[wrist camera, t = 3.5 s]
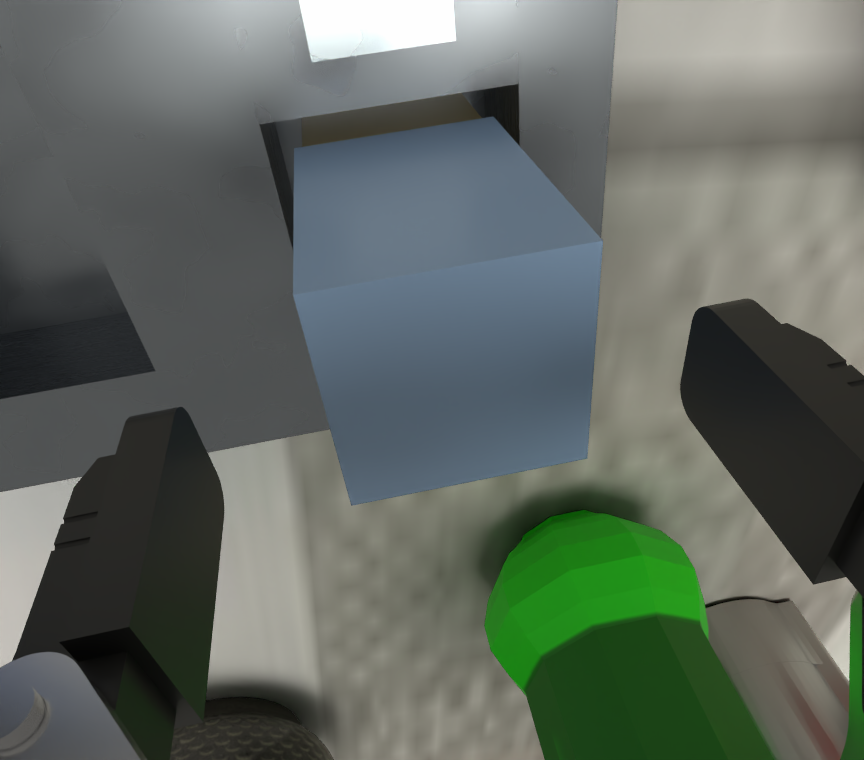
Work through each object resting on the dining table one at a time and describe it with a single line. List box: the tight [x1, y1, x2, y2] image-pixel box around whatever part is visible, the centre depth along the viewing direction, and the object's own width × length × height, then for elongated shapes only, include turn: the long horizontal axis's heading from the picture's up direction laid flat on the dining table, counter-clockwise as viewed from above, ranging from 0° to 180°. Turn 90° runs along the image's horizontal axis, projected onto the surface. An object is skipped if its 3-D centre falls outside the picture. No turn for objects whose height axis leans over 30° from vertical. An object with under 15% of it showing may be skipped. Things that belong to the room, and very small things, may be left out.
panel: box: [0, 0, 618, 492], centre depth 17 cm, size 20×12×4 cm, turn 96°
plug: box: [293, 93, 603, 506], centre depth 14 cm, size 4×4×10 cm
